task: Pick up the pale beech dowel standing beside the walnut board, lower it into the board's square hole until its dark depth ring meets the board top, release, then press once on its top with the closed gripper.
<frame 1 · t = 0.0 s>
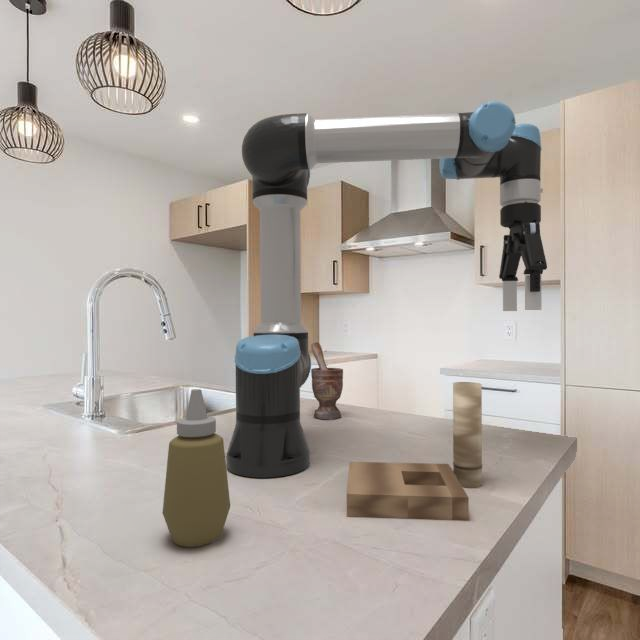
hand: (520, 310, 93), 28 cm above the countertop, fingers open, 13 cm apart
peg: (467, 483, 74), on the countertop
squeeze bottle: (197, 538, 56), on the countertop
board: (402, 497, 68), on the countertop
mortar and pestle: (323, 416, 125), on the countertop
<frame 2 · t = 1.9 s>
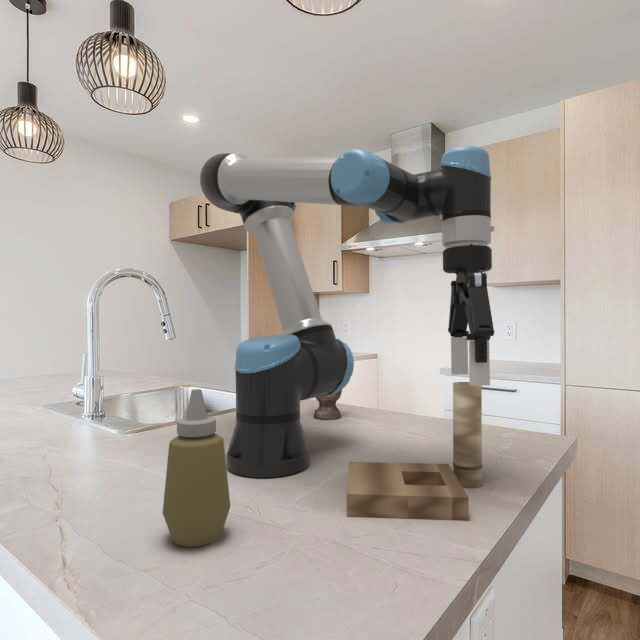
hand: (468, 379, 74), 17 cm above the countertop, fingers open, 13 cm apart
nothing on the countertop moved.
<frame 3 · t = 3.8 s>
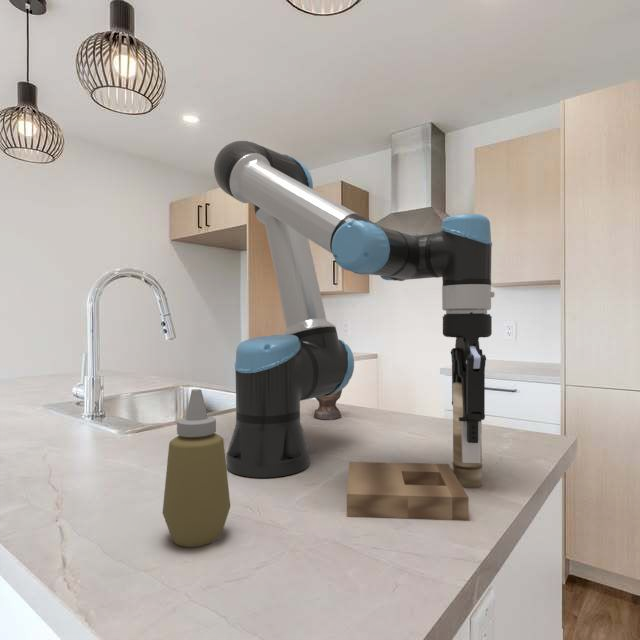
hand: (467, 457, 74), 4 cm above the countertop, fingers closed on peg, 4 cm apart
peg: (467, 482, 74), on the countertop, touching gripper
everything else where it was.
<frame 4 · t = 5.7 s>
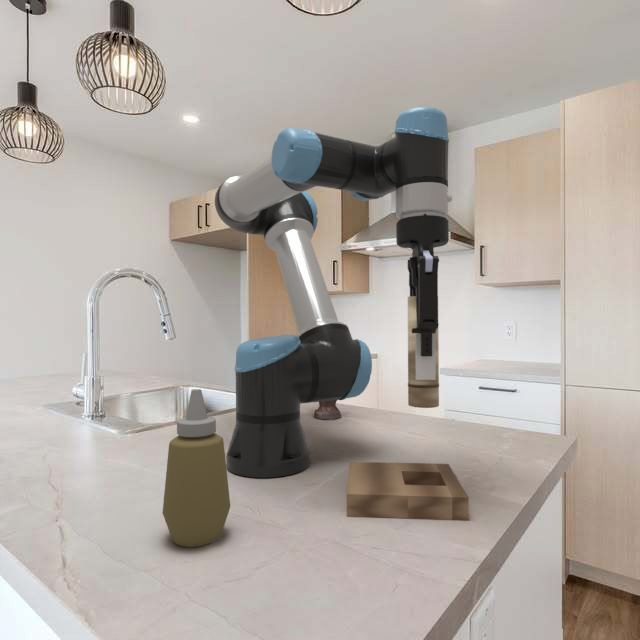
hand: (423, 376, 68), 18 cm above the countertop, fingers closed on peg, 4 cm apart
peg: (423, 405, 68), point 14 cm above the countertop, touching gripper
everything else where it was.
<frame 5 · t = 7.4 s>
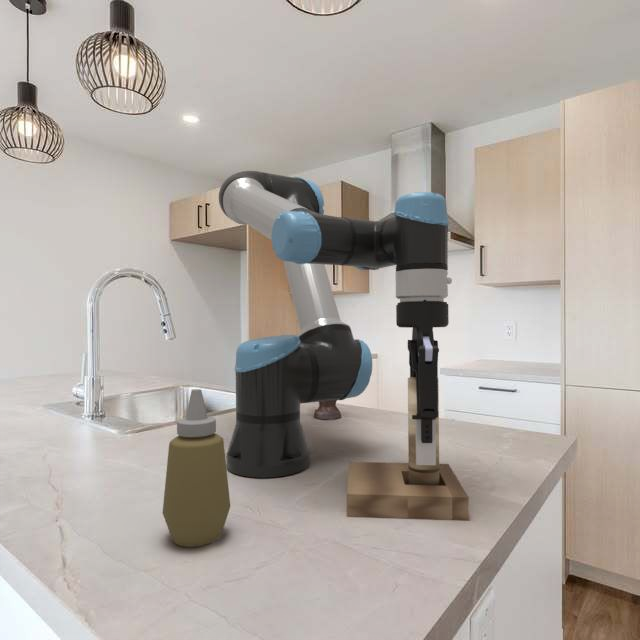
hand: (423, 458, 68), 6 cm above the countertop, fingers closed on peg, 4 cm apart
peg: (424, 487, 68), point 2 cm above the countertop, touching gripper
everything else where it was.
when the fingers open (5 cm above the countertop, at t = 7.9 s): peg stays where it is, resting in board.
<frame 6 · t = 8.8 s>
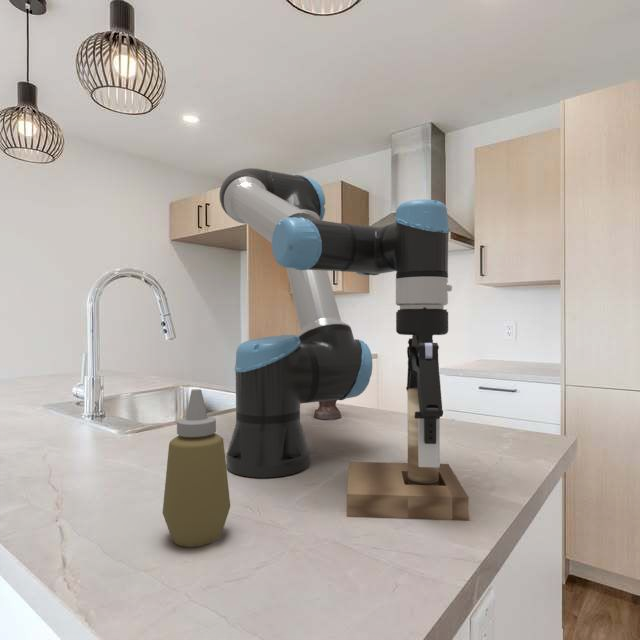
hand: (422, 451, 68), 7 cm above the countertop, fingers open, 13 cm apart
peg: (423, 498, 68), resting in board
everything else where it was.
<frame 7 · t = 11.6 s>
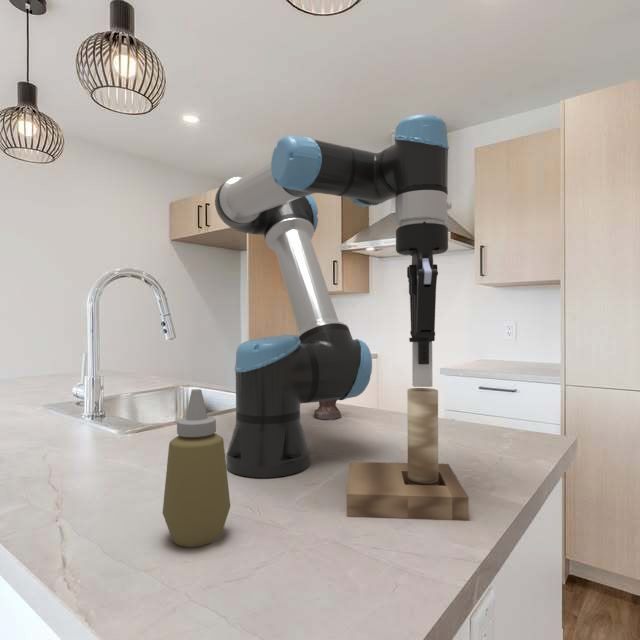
hand: (422, 385, 68), 17 cm above the countertop, fingers closed
nothing on the countertop moved.
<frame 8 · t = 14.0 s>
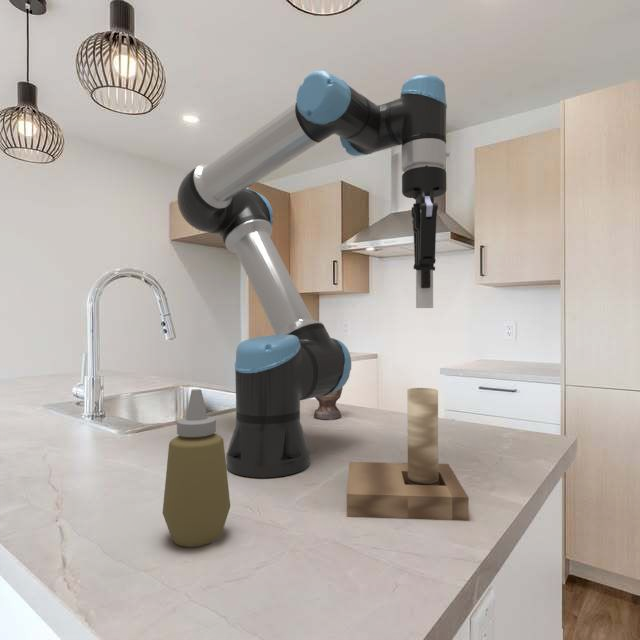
hand: (424, 307, 79), 28 cm above the countertop, fingers closed
nothing on the countertop moved.
at the end: peg 0.0 cm from the target spot on the board, point 0.0 cm above the board's base; peg tilted 0°; the gripper is holding nothing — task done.
